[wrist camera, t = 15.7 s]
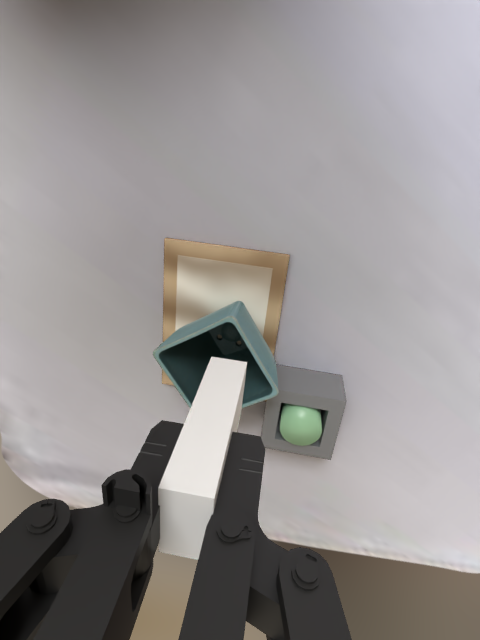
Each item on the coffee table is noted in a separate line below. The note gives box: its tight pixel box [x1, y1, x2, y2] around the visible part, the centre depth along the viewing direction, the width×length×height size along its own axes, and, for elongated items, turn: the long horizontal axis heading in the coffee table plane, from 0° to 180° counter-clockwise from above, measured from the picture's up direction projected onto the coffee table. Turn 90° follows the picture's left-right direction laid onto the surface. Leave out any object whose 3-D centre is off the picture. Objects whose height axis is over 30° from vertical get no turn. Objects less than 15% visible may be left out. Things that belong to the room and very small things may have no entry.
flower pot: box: [153, 301, 279, 408], centre depth 38 cm, size 9×9×9 cm
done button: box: [280, 403, 322, 446], centre depth 42 cm, size 4×4×5 cm
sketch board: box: [162, 238, 290, 402], centre depth 43 cm, size 18×13×1 cm
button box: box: [261, 364, 346, 460], centre depth 43 cm, size 8×8×5 cm
